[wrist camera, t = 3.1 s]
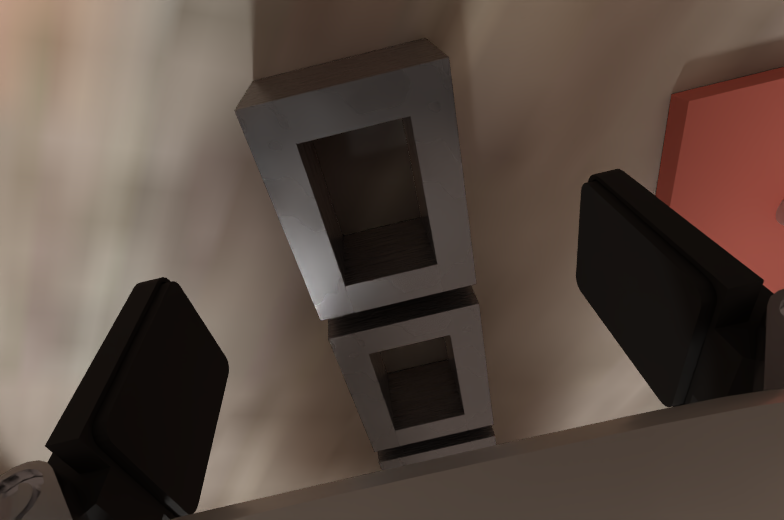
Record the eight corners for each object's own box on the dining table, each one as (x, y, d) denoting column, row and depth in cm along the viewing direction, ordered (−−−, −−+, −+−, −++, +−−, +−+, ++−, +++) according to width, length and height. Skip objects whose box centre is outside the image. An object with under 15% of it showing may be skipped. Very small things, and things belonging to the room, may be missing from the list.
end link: (454, 235, 19) (476, 283, 17) (321, 267, 20) (320, 320, 17) (425, 38, 15) (449, 57, 12) (252, 81, 15) (234, 110, 12)
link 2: (487, 457, 30) (504, 511, 27) (400, 477, 30) (407, 532, 27) (476, 381, 25) (495, 435, 22) (373, 405, 25) (378, 462, 22)
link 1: (474, 369, 25) (493, 424, 22) (369, 394, 25) (374, 451, 22) (457, 254, 20) (478, 303, 17) (328, 284, 20) (328, 339, 17)
